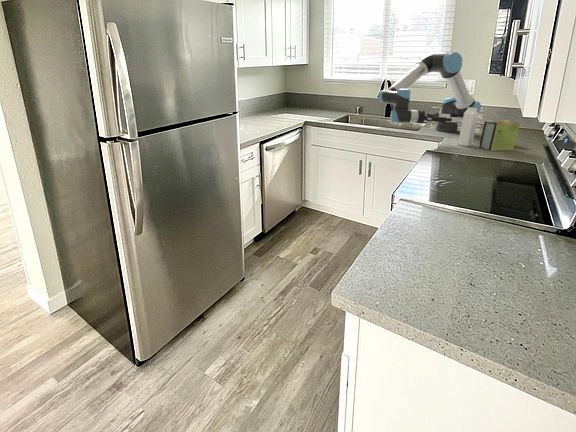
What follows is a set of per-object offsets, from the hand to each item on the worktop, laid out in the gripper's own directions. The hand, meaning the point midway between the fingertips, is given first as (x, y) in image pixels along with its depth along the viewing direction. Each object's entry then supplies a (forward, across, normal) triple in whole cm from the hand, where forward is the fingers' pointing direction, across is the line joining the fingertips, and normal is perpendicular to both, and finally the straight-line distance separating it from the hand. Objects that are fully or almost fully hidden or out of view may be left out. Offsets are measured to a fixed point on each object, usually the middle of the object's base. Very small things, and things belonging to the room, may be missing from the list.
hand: (453, 118), depth 222 cm
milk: (+10, 0, -16) cm, 19 cm away
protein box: (+25, +8, -16) cm, 31 cm away
